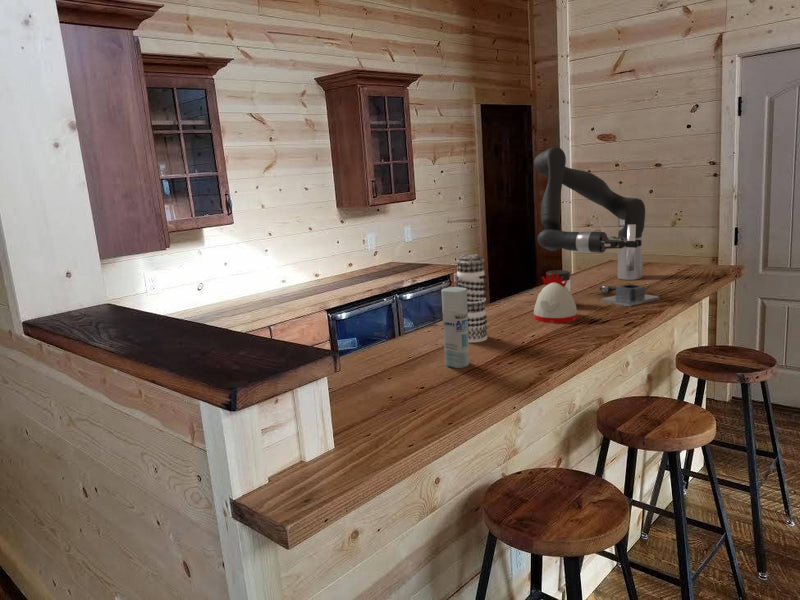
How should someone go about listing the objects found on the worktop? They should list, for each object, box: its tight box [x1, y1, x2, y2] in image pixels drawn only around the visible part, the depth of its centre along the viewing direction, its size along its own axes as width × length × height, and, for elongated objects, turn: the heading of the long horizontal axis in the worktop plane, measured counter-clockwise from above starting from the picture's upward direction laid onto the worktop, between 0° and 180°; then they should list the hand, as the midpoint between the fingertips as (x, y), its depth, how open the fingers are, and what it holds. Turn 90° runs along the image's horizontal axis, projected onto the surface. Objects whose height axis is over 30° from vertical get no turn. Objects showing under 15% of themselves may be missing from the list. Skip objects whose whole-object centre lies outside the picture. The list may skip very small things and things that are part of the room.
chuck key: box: [599, 285, 617, 295], centre depth 238 cm, size 10×6×2 cm, turn 155°
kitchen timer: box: [533, 272, 578, 324], centre depth 203 cm, size 14×14×15 cm
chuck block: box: [600, 283, 660, 307], centre depth 222 cm, size 16×12×5 cm
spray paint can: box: [441, 286, 470, 369], centre depth 161 cm, size 6×6×20 cm
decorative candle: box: [454, 253, 488, 343], centre depth 184 cm, size 9×9×25 cm
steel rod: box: [626, 224, 636, 271], centre depth 218 cm, size 3×3×16 cm
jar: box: [545, 269, 571, 292], centre depth 220 cm, size 9×8×12 cm
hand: (639, 243), depth 216 cm, fingers closed on steel rod, 3 cm apart
